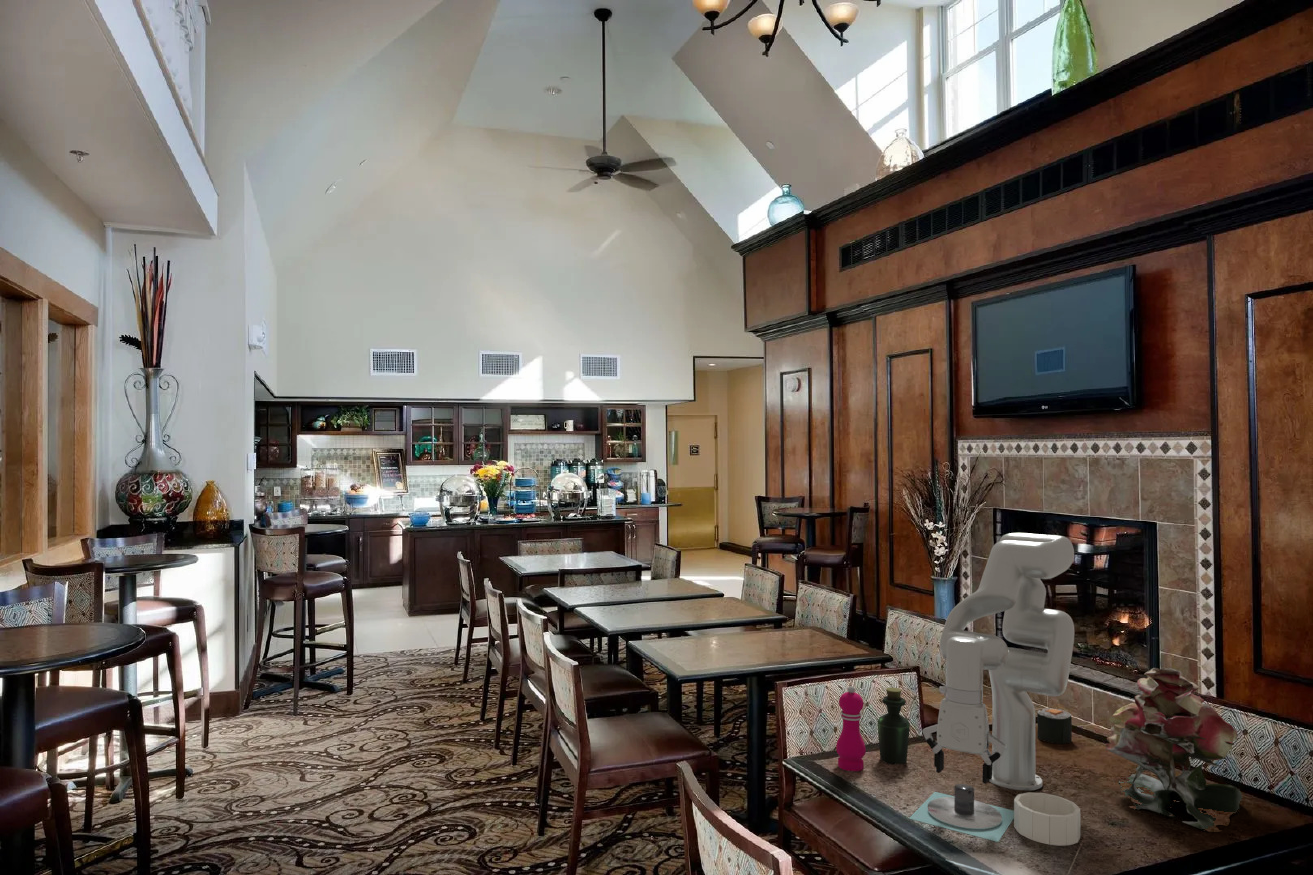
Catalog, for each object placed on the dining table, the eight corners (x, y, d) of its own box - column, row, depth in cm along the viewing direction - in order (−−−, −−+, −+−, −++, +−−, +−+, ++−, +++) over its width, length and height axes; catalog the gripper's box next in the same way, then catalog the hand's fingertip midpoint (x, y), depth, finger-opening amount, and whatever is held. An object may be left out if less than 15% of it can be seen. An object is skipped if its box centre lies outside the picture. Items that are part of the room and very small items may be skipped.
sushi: (1076, 741, 230) (1076, 711, 230) (1058, 745, 225) (1058, 716, 226) (1050, 732, 236) (1050, 704, 237) (1031, 737, 232) (1031, 708, 233)
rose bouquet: (1246, 797, 192) (1245, 666, 193) (1225, 839, 170) (1225, 691, 171) (1121, 768, 209) (1121, 648, 210) (1089, 803, 187) (1089, 669, 188)
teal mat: (934, 793, 191) (934, 791, 192) (1018, 813, 181) (1018, 811, 181) (908, 820, 177) (908, 818, 177) (998, 843, 166) (998, 841, 166)
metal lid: (939, 795, 189) (939, 769, 190) (1009, 812, 181) (1009, 785, 181) (918, 817, 177) (918, 790, 177) (992, 837, 168) (992, 808, 169)
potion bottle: (913, 758, 214) (913, 688, 214) (906, 768, 207) (906, 695, 207) (881, 752, 218) (882, 683, 218) (873, 762, 211) (873, 690, 211)
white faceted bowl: (1022, 816, 180) (1022, 788, 180) (1083, 831, 173) (1083, 801, 173) (1009, 836, 170) (1009, 806, 170) (1074, 852, 163) (1074, 821, 163)
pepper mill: (866, 773, 203) (866, 691, 204) (836, 770, 205) (836, 688, 205) (864, 762, 210) (865, 683, 211) (835, 760, 212) (836, 681, 212)
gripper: (918, 691, 181) (916, 771, 181) (1002, 706, 171) (1000, 791, 171) (929, 685, 188) (927, 762, 187) (1010, 699, 178) (1009, 781, 177)
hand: (962, 776), depth 179 cm, fingers open, 9 cm apart
